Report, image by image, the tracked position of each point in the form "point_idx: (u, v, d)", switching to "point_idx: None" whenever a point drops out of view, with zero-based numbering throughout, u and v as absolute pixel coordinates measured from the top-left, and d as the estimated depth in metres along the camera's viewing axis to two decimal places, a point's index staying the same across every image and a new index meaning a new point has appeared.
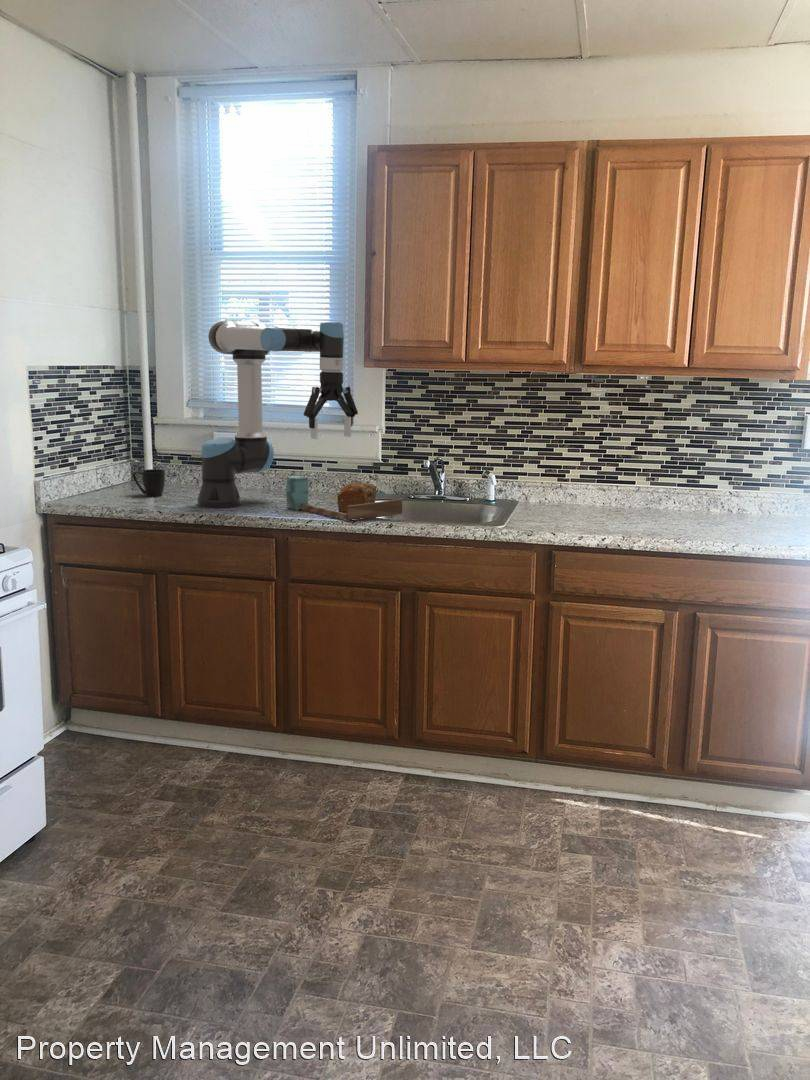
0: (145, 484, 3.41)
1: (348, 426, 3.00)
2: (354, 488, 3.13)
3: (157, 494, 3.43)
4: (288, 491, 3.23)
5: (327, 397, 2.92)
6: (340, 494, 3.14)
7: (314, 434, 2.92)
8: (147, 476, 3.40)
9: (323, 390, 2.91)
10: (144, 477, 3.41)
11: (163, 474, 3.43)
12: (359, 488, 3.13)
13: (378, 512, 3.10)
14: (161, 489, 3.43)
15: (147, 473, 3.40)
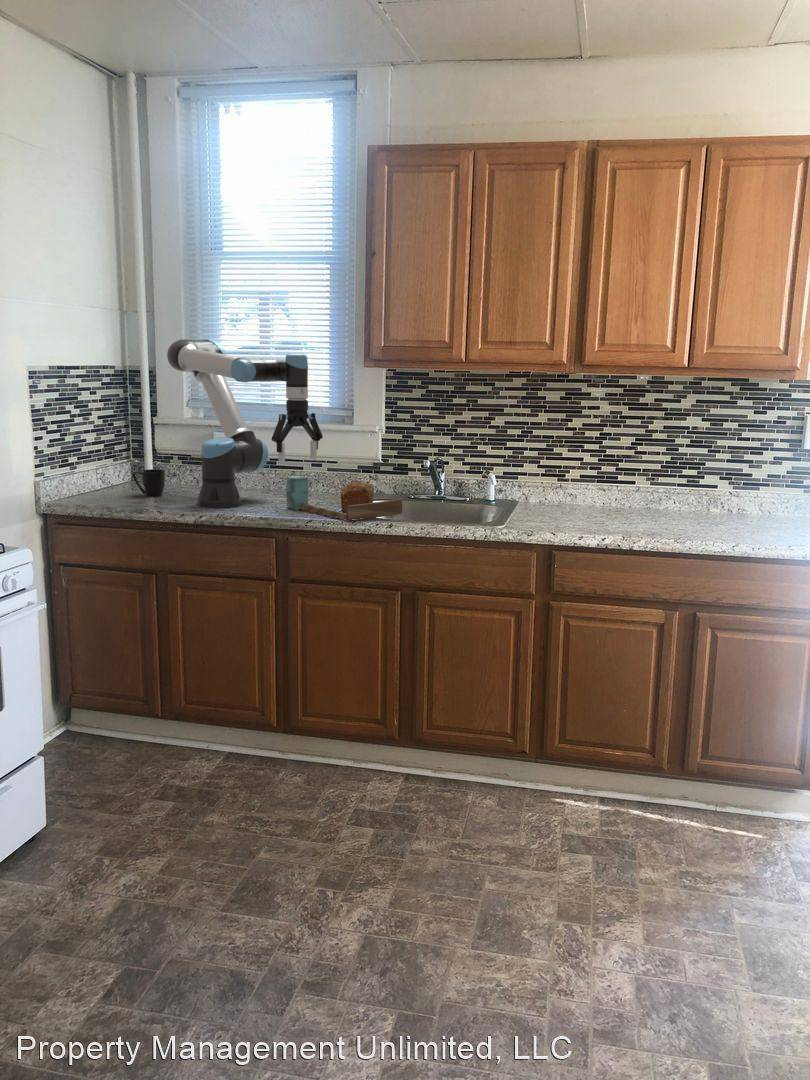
0: (145, 484, 3.41)
1: (314, 449, 3.24)
2: (358, 488, 3.14)
3: (157, 494, 3.43)
4: (288, 491, 3.23)
5: (293, 423, 3.15)
6: (344, 494, 3.14)
7: (281, 457, 3.16)
8: (147, 476, 3.40)
9: (289, 417, 3.15)
10: (144, 477, 3.41)
11: (163, 474, 3.43)
12: (363, 488, 3.14)
13: (378, 512, 3.10)
14: (161, 489, 3.43)
15: (147, 473, 3.40)
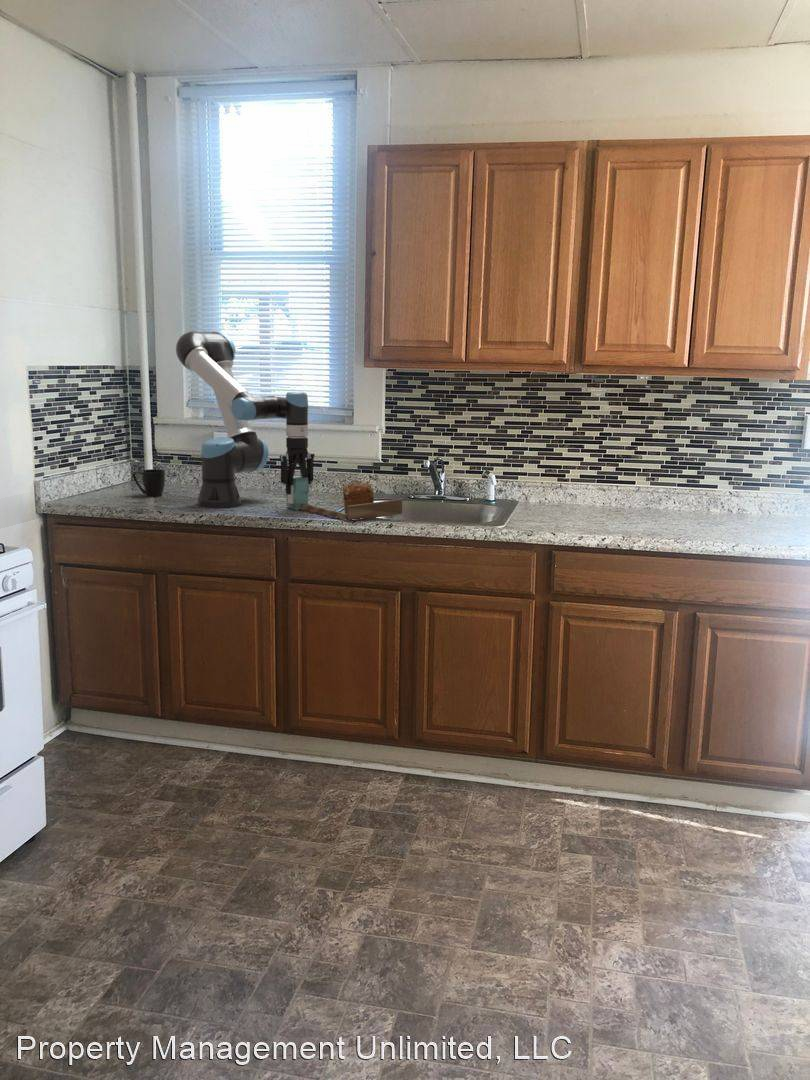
0: (145, 484, 3.41)
1: None
2: (361, 488, 3.14)
3: (157, 494, 3.43)
4: None
5: (295, 462, 3.19)
6: (347, 495, 3.13)
7: (290, 499, 3.21)
8: (147, 476, 3.40)
9: (289, 455, 3.18)
10: (144, 477, 3.41)
11: (163, 474, 3.43)
12: (366, 488, 3.14)
13: (378, 512, 3.10)
14: (161, 489, 3.43)
15: (147, 473, 3.40)
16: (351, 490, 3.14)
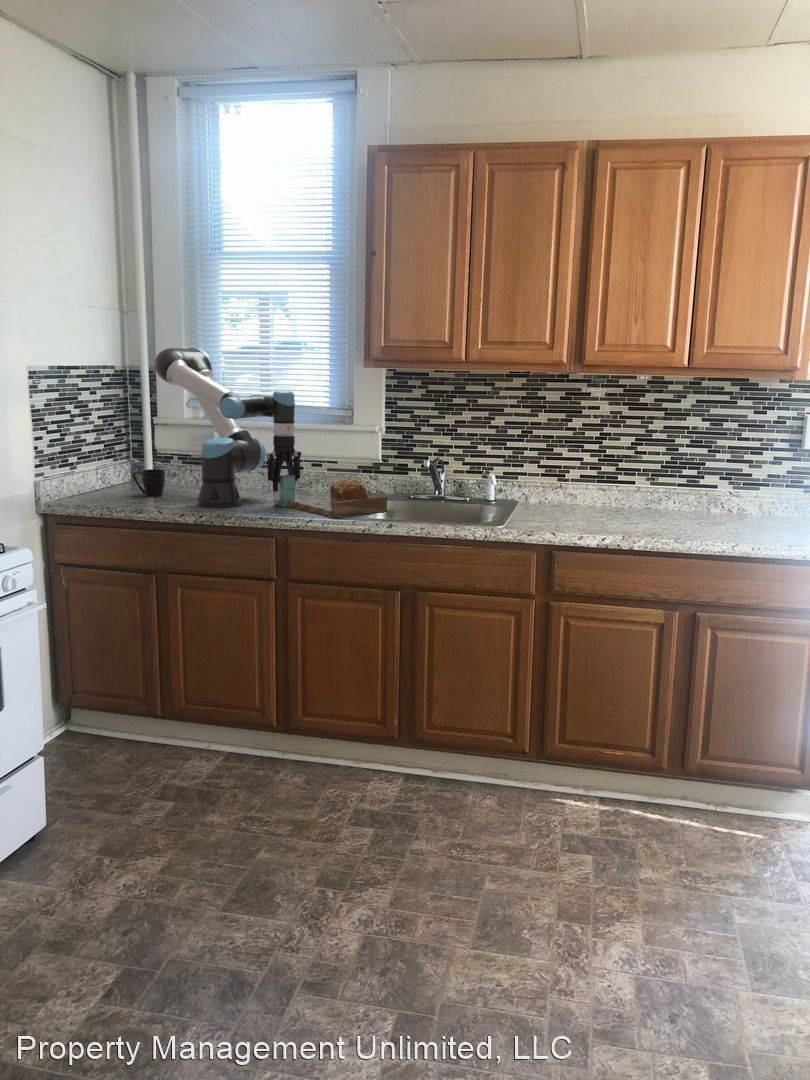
0: (145, 484, 3.41)
1: None
2: (355, 486, 3.17)
3: (157, 494, 3.43)
4: None
5: (282, 460, 3.25)
6: (342, 493, 3.16)
7: (277, 496, 3.27)
8: (147, 476, 3.40)
9: (276, 453, 3.23)
10: (144, 477, 3.41)
11: (163, 474, 3.43)
12: (360, 486, 3.18)
13: (363, 509, 3.16)
14: (161, 489, 3.43)
15: (147, 473, 3.40)
16: (345, 488, 3.16)
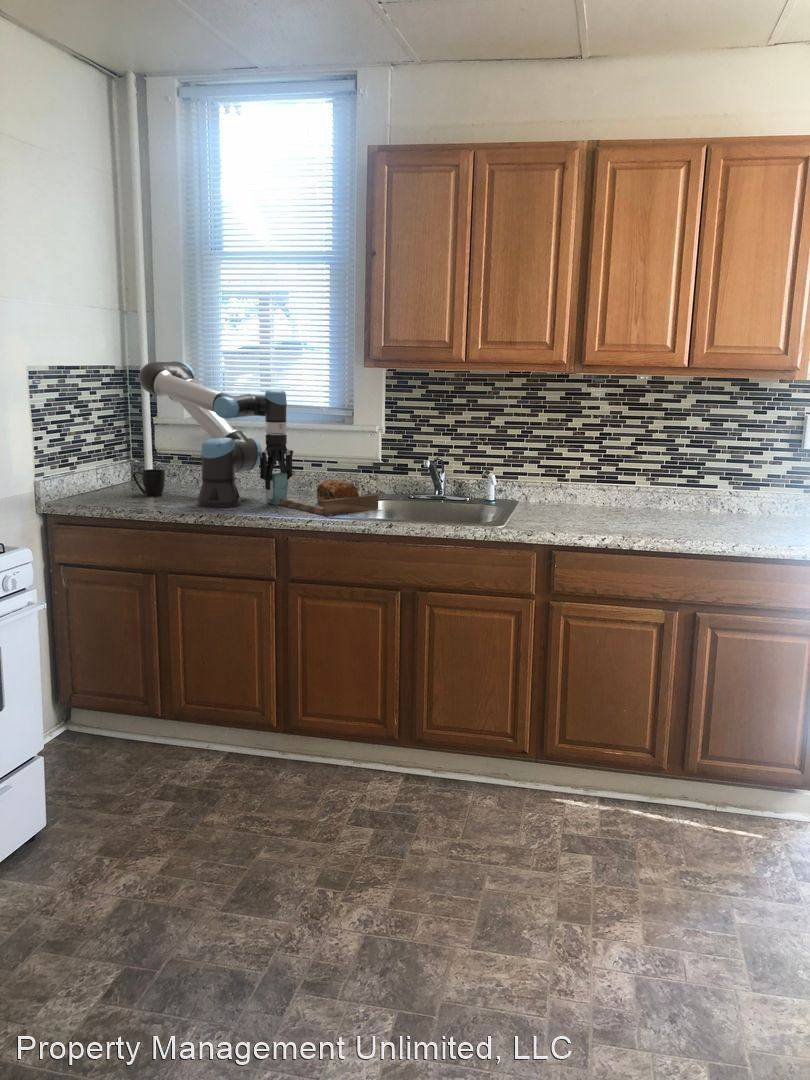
0: (145, 484, 3.41)
1: None
2: (347, 485, 3.20)
3: (157, 494, 3.43)
4: None
5: (274, 458, 3.28)
6: (334, 492, 3.18)
7: (269, 494, 3.31)
8: (147, 476, 3.40)
9: (269, 452, 3.27)
10: (144, 477, 3.41)
11: (163, 474, 3.43)
12: (351, 485, 3.21)
13: (354, 507, 3.20)
14: (161, 489, 3.43)
15: (147, 473, 3.40)
16: (337, 487, 3.19)
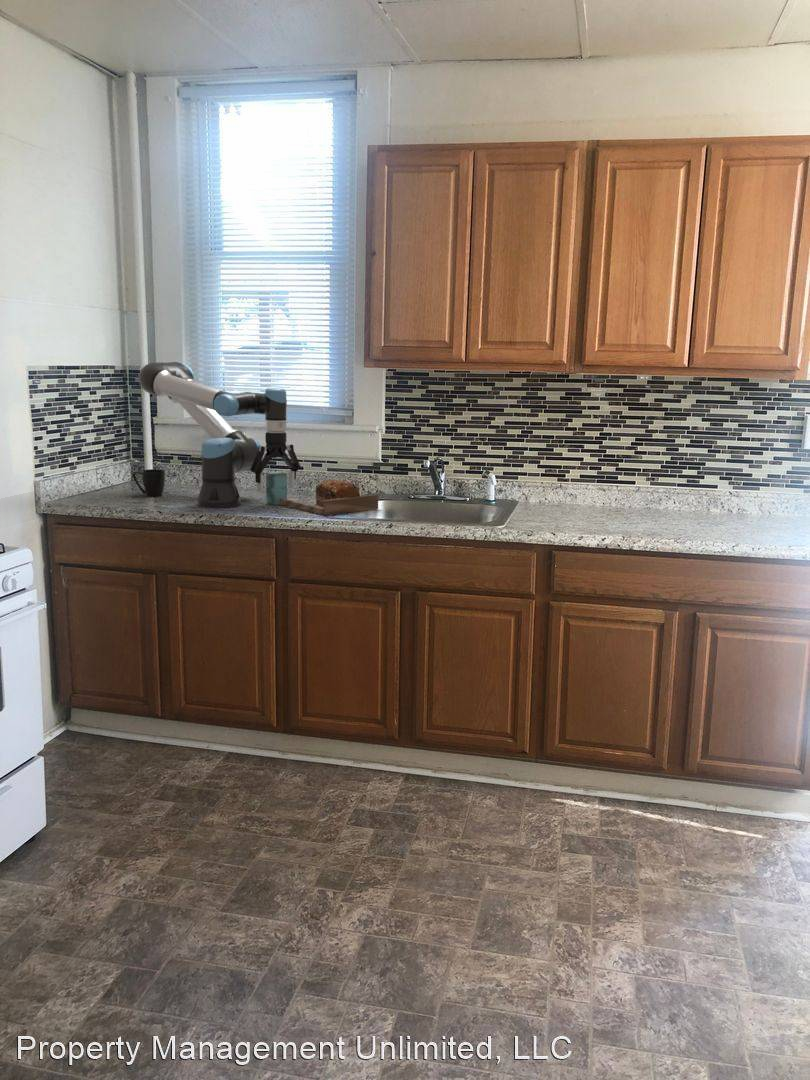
0: (145, 484, 3.41)
1: (292, 479, 3.36)
2: (348, 485, 3.20)
3: (157, 494, 3.43)
4: (268, 486, 3.32)
5: (272, 455, 3.27)
6: (336, 492, 3.18)
7: (260, 487, 3.28)
8: (147, 476, 3.40)
9: (268, 449, 3.27)
10: (144, 477, 3.41)
11: (163, 474, 3.43)
12: (352, 484, 3.21)
13: (354, 507, 3.20)
14: (161, 489, 3.43)
15: (147, 473, 3.40)
16: (339, 487, 3.19)
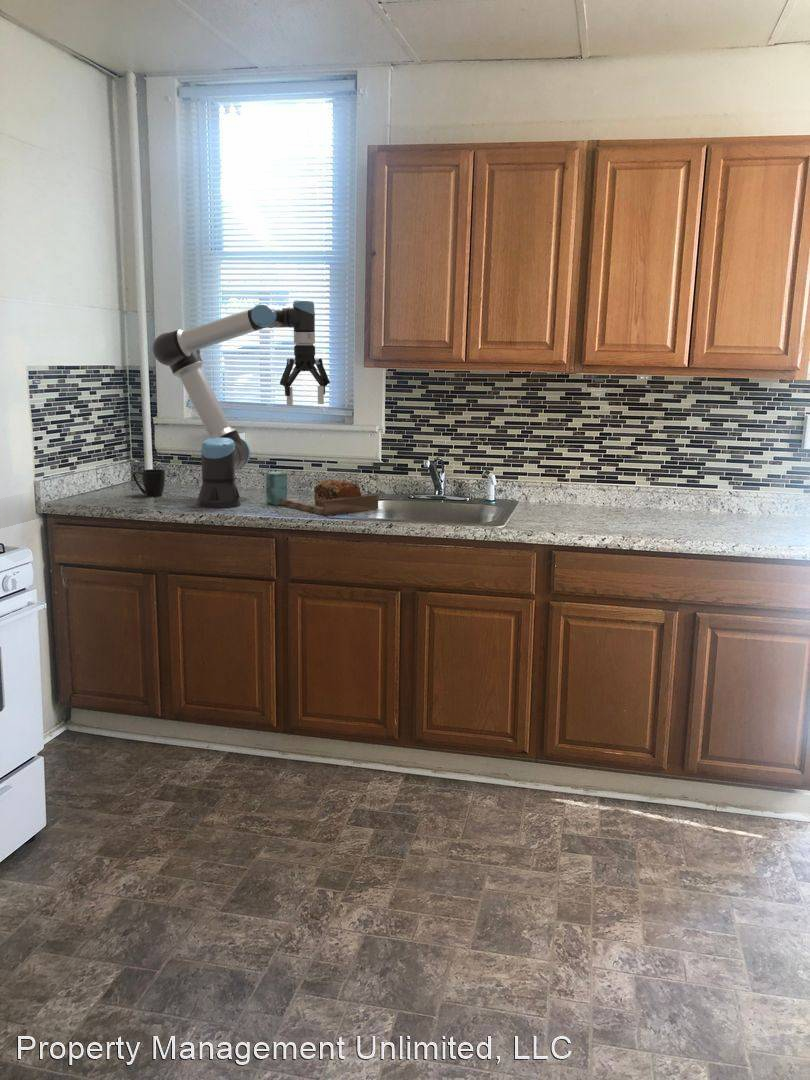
0: (145, 484, 3.41)
1: (321, 394, 3.34)
2: (350, 485, 3.21)
3: (157, 494, 3.43)
4: (268, 486, 3.32)
5: (301, 368, 3.25)
6: (338, 492, 3.18)
7: (289, 401, 3.26)
8: (147, 476, 3.40)
9: (297, 361, 3.25)
10: (144, 477, 3.41)
11: (163, 474, 3.43)
12: (353, 484, 3.22)
13: (354, 507, 3.20)
14: (161, 489, 3.43)
15: (147, 473, 3.40)
16: (341, 487, 3.19)
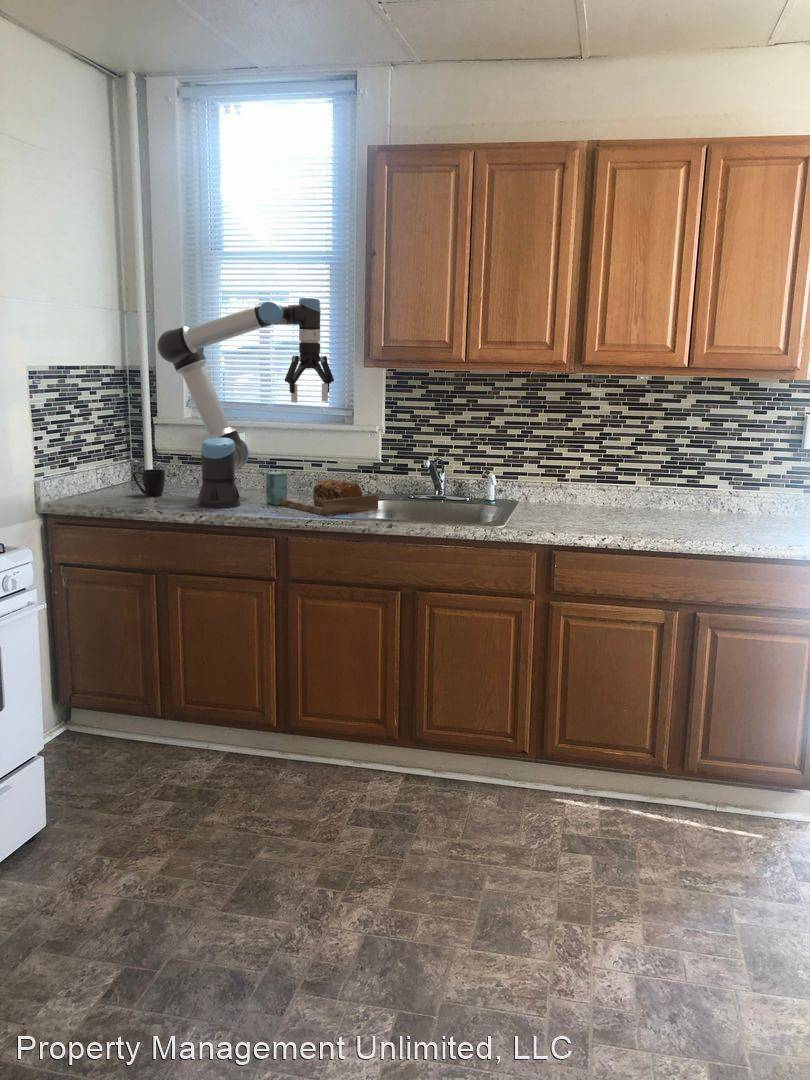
0: (145, 484, 3.41)
1: (325, 392, 3.34)
2: (351, 484, 3.21)
3: (157, 494, 3.43)
4: (268, 486, 3.32)
5: (306, 365, 3.26)
6: (340, 492, 3.19)
7: (294, 398, 3.26)
8: (147, 476, 3.40)
9: (302, 359, 3.25)
10: (144, 477, 3.41)
11: (163, 474, 3.43)
12: (354, 484, 3.22)
13: (354, 507, 3.20)
14: (161, 489, 3.43)
15: (147, 473, 3.40)
16: (342, 487, 3.20)
